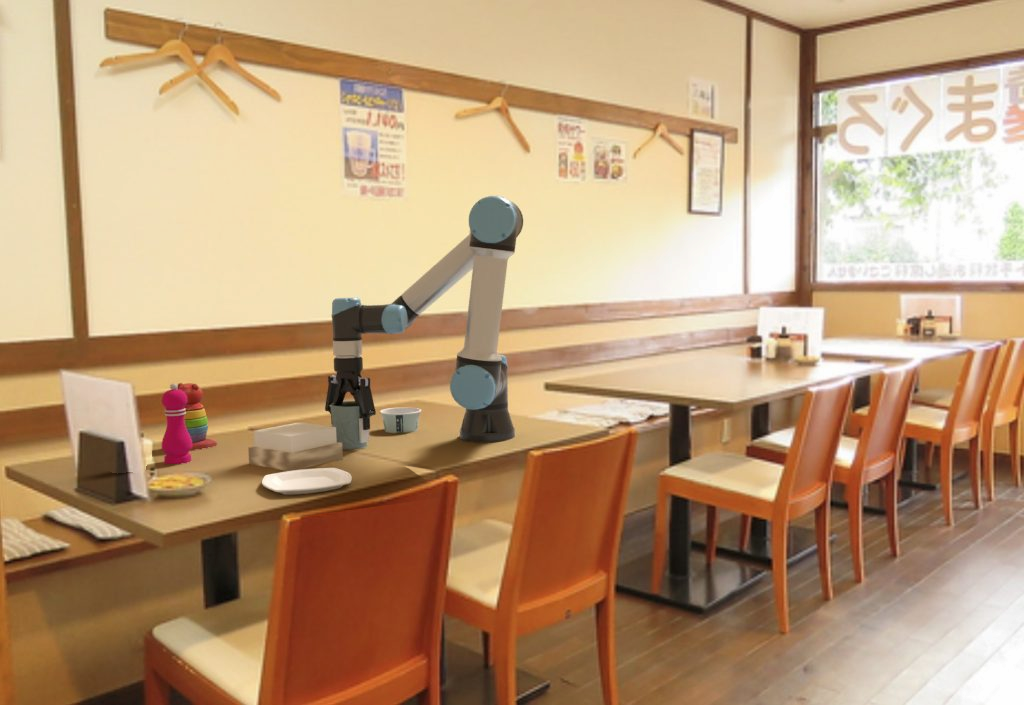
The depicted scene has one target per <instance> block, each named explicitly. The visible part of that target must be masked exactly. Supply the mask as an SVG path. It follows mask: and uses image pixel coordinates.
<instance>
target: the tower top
mask: <svg viewBox="0 0 1024 705" xmlns="http://www.w3.org/2000/svg"><path fill="white" fill-rule="evenodd" d="M335 443H337V439H336V427H332V425H331V426H330V425H323V424H314V423H307V422H299V421H298V422H293V423H290V424H289V423H287V424H283V425H278V426H273V427H268V428H267V427H266V428H262V429H261V428H260V429H257V430H256V429H255V430H253V446H254V447H258V448H264V449H270V450H276V451H282V452H288V453H294V452H299V451H303V450H308V449H312V448H317V447H321V446H326V445H330V444H335Z"/></svg>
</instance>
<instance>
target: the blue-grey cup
mask: <svg viewBox="0 0 1024 705" xmlns="http://www.w3.org/2000/svg"><path fill="white" fill-rule="evenodd" d="M330 406H331V414H330V416H331V415H332V424H331V427H336V439H337V442H340V443H342V451H344V450H346V451H347V450H358V449H361V448H362V449H363V448H365V447H368V442H364V443H360V436H359V417H360V416H361V415H360V412H359V406H357V405H356V402H355V400H349V401H347V400H346V401H343V403H342V405H340V406H335V403H332V404H331V405H330ZM364 413H366V412H364Z"/></svg>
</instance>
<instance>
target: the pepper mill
mask: <svg viewBox="0 0 1024 705" xmlns="http://www.w3.org/2000/svg"><path fill="white" fill-rule="evenodd" d="M177 385H178V384H177V383H175V382H173V383H171V384H170V385H169V388H170V389H169V390H166V391H165V392H164V393H163V394H162V396H161V404H162V406H163V407H164V408H165V409H164V416H166V428H165V432H164V435H163V437H162V439H161V450H162V451H163V453H165V456H164V464H165V465H167V464H178V465H182V464H181V463H185V464H188V463H187V462H189V463H191V462H192V454H191V453H190V452H191V451H192V450H191V448H192V440H191V437H190V435H189V433H188V431H187V429H186V426H185V421H184V414H186V412H185V410H186V409H185V408H184V406H185V405H186V404H187V395H186V394H185V392H183V391H182V390H178V389H177V388H178V386H177ZM190 450H191V451H190ZM190 461H191V462H190Z"/></svg>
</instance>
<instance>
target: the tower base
mask: <svg viewBox="0 0 1024 705" xmlns="http://www.w3.org/2000/svg"><path fill="white" fill-rule="evenodd" d="M247 450H248V464H249V465H253V466H260V467H264V468H269V469H270V468H271V469H274V470H281V471H284V472H286V471H293V470H302V469H308V468H311V467H315V466H318V465H319V466H320V465H324V464H327V463H332V462H334V461H335V462H338V460H339V461H342V459H344V457H343V454H344V453H343V451H344V450H342V443H340V442H337V443H335V444H330V445H326V446H321V447H317V448H312V449H308V450H303V451H299V452H294V453H288V452H282V451H276V450H270V449H264V448H258V447H254V445H252V446H248V449H247Z"/></svg>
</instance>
